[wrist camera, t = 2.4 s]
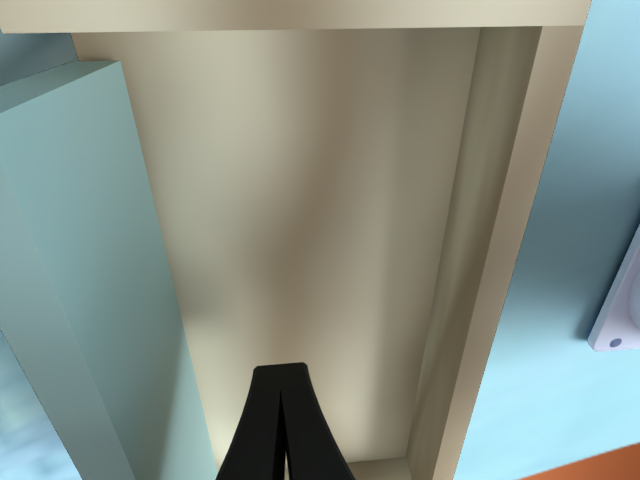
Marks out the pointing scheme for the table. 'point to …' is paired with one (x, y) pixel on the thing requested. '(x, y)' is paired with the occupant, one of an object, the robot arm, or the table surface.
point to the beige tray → (339, 192)
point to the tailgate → (94, 280)
